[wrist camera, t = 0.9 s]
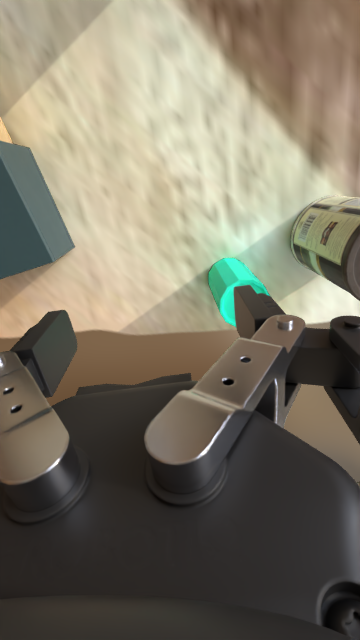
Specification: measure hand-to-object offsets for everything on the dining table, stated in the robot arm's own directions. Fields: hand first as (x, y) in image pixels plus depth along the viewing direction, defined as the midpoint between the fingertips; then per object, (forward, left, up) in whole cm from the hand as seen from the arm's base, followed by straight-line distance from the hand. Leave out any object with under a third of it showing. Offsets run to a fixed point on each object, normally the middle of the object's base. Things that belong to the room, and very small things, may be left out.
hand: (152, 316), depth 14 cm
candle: (+8, +9, -29) cm, 31 cm away
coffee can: (+3, +23, -29) cm, 37 cm away
